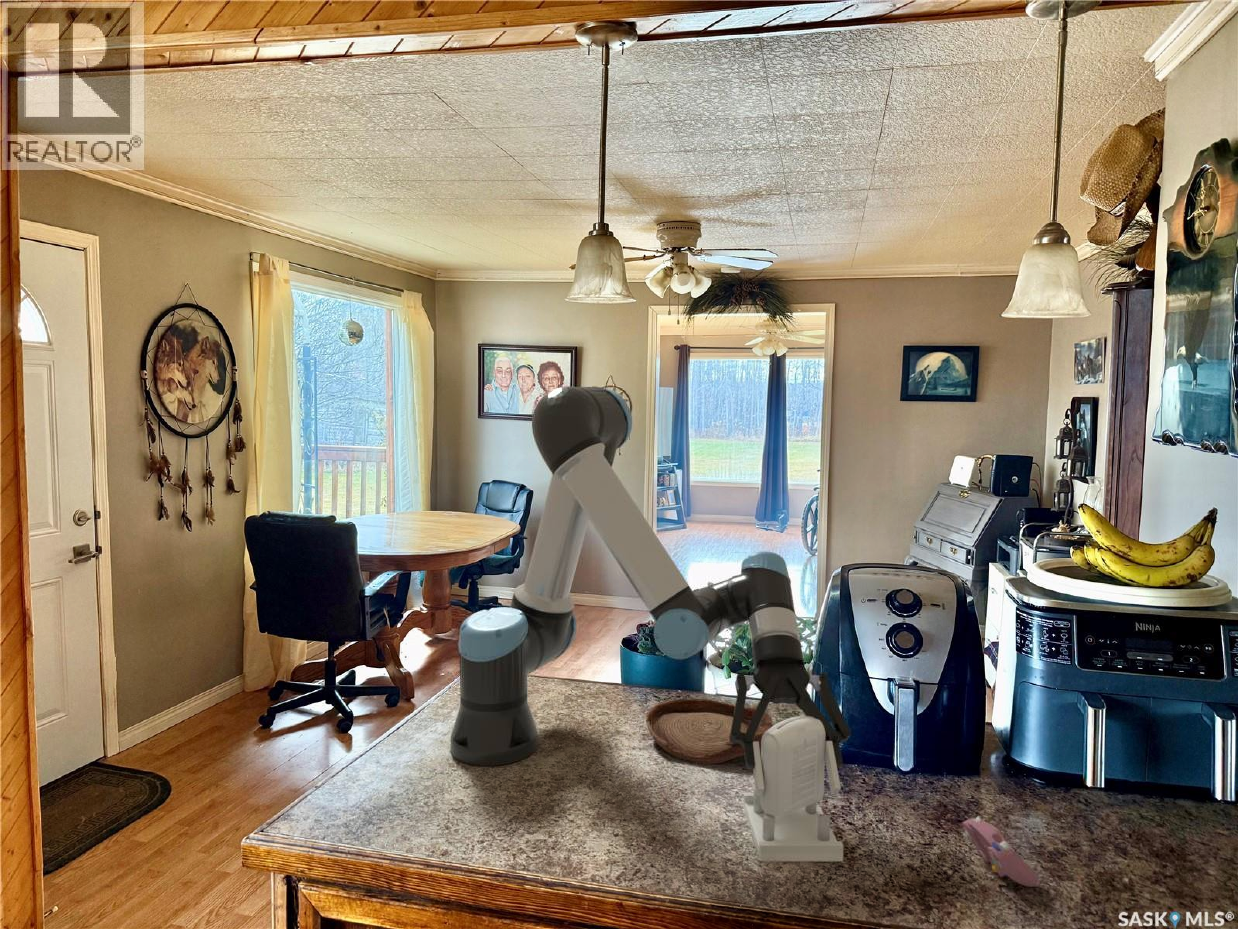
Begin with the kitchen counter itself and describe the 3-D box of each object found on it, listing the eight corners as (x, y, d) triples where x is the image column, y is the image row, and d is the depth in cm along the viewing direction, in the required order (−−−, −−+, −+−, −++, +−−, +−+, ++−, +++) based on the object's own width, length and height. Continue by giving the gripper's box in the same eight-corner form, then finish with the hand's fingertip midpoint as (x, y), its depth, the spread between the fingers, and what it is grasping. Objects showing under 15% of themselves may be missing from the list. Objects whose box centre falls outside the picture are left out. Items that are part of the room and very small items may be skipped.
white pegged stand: (743, 806, 119) (743, 779, 118) (815, 806, 119) (816, 779, 118) (760, 861, 105) (761, 831, 104) (842, 861, 105) (843, 831, 104)
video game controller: (969, 857, 109) (950, 815, 108) (998, 841, 109) (979, 799, 108) (1013, 903, 99) (992, 858, 98) (1044, 885, 99) (1024, 840, 98)
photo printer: (805, 787, 116) (807, 706, 115) (828, 800, 112) (830, 716, 111) (754, 808, 110) (756, 722, 109) (776, 821, 107) (778, 733, 106)
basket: (635, 759, 134) (635, 731, 134) (657, 712, 154) (657, 688, 153) (769, 774, 129) (769, 745, 129) (774, 724, 149) (774, 699, 148)
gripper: (842, 654, 125) (872, 800, 111) (702, 655, 125) (714, 801, 111) (853, 631, 119) (886, 782, 105) (706, 632, 119) (719, 783, 105)
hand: (798, 792), depth 108 cm, fingers open, 10 cm apart
